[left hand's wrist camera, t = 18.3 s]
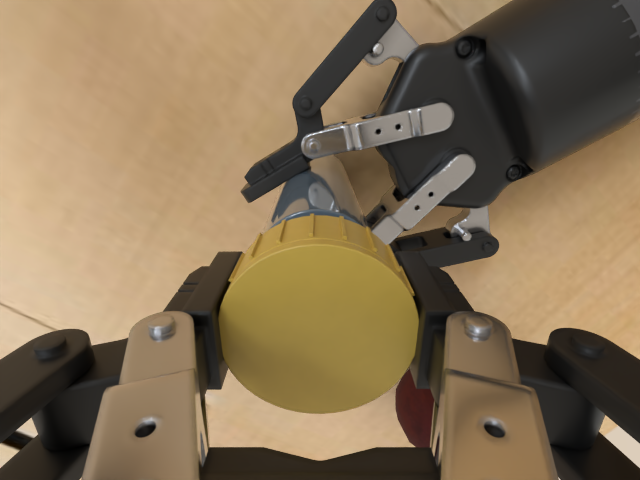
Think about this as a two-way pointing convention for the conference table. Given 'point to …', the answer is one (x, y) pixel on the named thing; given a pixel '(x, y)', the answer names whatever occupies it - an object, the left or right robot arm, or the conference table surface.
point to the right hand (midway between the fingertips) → (274, 231)
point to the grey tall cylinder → (317, 194)
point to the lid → (318, 316)
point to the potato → (414, 411)
